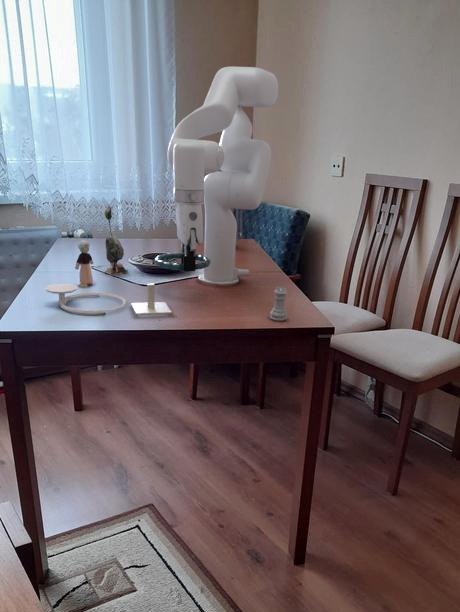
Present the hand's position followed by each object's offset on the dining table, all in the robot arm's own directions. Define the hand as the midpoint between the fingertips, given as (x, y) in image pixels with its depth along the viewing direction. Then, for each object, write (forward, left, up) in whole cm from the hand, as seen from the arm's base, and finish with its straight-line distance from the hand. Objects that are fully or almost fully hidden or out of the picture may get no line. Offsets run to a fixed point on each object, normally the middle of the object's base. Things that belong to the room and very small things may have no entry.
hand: (188, 269), depth 147 cm
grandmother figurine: (+25, -20, -9) cm, 34 cm away
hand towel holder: (+27, 0, -9) cm, 28 cm away
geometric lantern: (-33, -74, -9) cm, 82 cm away
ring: (0, -7, +1) cm, 7 cm away
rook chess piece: (-20, +18, -9) cm, 28 cm away
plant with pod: (+15, -32, -9) cm, 37 cm away
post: (+11, +8, -9) cm, 16 cm away
